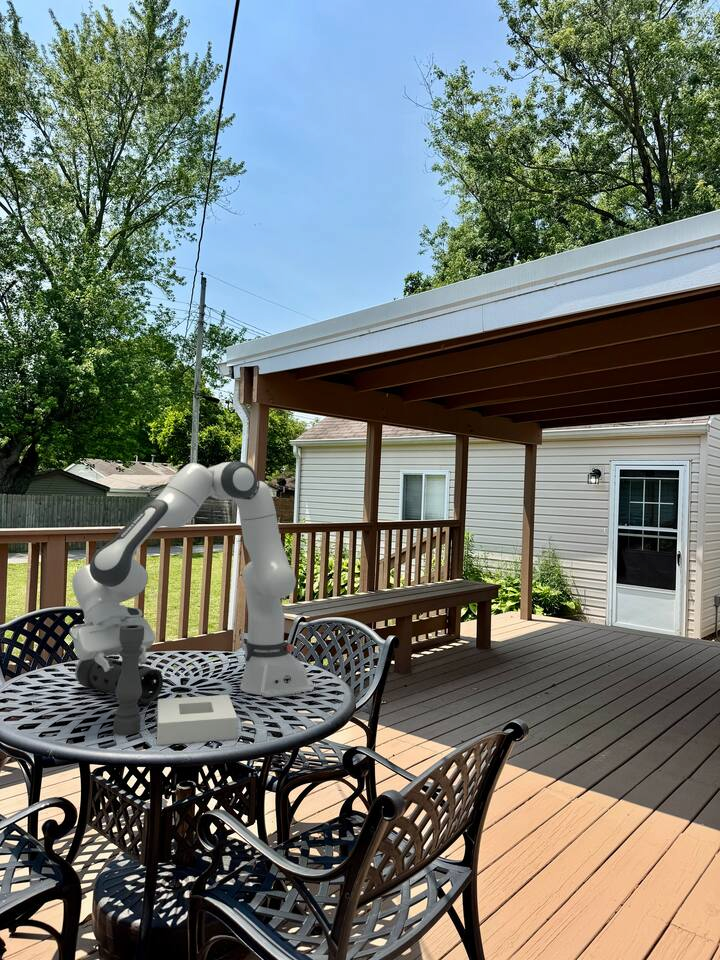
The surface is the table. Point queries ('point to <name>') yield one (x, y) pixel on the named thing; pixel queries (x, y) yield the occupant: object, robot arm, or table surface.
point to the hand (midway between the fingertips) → (127, 666)
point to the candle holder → (129, 681)
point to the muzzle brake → (117, 678)
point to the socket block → (195, 719)
